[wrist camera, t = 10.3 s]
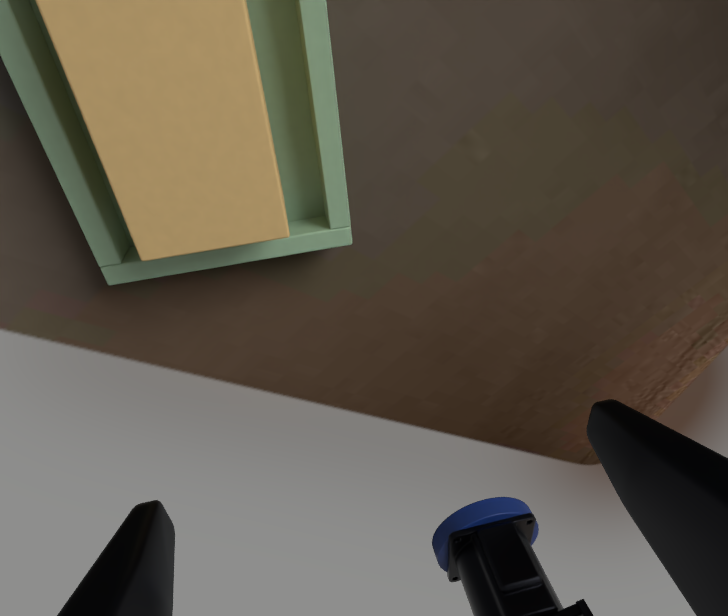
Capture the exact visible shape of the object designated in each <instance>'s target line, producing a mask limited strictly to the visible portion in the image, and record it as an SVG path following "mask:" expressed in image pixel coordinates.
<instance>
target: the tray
mask: <svg viewBox="0 0 728 616" xmlns="http://www.w3.org/2000/svg"><path fill="white" fill-rule="evenodd" d="M246 2H247V7H248V12H249V18H250V23H251V28H252V33H253V39H254V44H255V49H256V54H257V59H258V65H259V70H260V75H261V80H262V86H263V91H264V96H265V101H266V106H267V112H268V117H269V122H270V127H271V132H272V138H273V143H274V148H275V153H276V159H277V164H278V169H279V174H280V179H281V185H282V190H283V195H284V201H285V208H286V214H287V220H288V226H289V232H290V236H289V237H288V238H283V239H277V240H271V241H264V242H258V243H252V244H246V245H240V246H234V247H228V248H222V249H216V250H210V251H204V252H198V253H192V254H185V255H179V256H173V257H167V258H161V259H155V260H149V261H141V259H140V257H139V254H138V252H137V249H136V247H135V244H134V242H133V239H132V237H131V235H130V232H129V230H128V227H127V225H126V222H125V220H124V217H123V215H122V212H121V210H120V207H119V205H118V203H117V200H116V198H115V195H114V193H113V190H112V188H111V185H110V183H109V180H108V178H107V175H106V173H105V171H104V168H103V166H102V163H101V161H100V158H99V156H98V153H97V151H96V148H95V146H94V144H93V141H92V139H91V136H90V134H89V131H88V129H87V126H86V124H85V121H84V119H83V116H82V114H81V112H80V109H79V107H78V104H77V102H76V99H75V97H74V94H73V92H72V89H71V87H70V84H69V82H68V80H67V77H66V75H65V72H64V70H63V67H62V65H61V62H60V60H59V57H58V55H57V52H56V50H55V48H54V45H53V43H52V40H51V38H50V35H49V33H48V30H47V28H46V25H45V23H44V21H43V18H42V16H41V13H40V11H39V8H38V6H37V3H36V1H35V0H0V56H1V58H2V60H3V62H4V65H5V67H6V69H7V71H8V73H9V75H10V77H11V79H12V82H13V84H14V86H15V88H16V90H17V92H18V94H19V97H20V99H21V101H22V103H23V105H24V107H25V109H26V111H27V114H28V116H29V118H30V120H31V122H32V124H33V126H34V129H35V131H36V133H37V135H38V137H39V139H40V141H41V144H42V146H43V148H44V150H45V152H46V154H47V156H48V158H49V161H50V163H51V165H52V167H53V169H54V171H55V173H56V176H57V178H58V180H59V182H60V184H61V186H62V188H63V190H64V193H65V195H66V197H67V199H68V201H69V203H70V205H71V208H72V210H73V212H74V214H75V216H76V218H77V220H78V223H79V225H80V227H81V229H82V231H83V233H84V235H85V237H86V240H87V242H88V244H89V246H90V248H91V250H92V252H93V255H94V257H95V259H96V261H97V263H98V265H99V267H101V271H102V273H103V275H104V277H105V279H106V282H107V284H108V285H115V284H121V283H127V282H133V281H139V280H145V279H151V278H157V277H163V276H169V275H175V274H180V273H186V272H192V271H198V270H204V269H210V268H216V267H222V266H228V265H234V264H240V263H246V262H251V261H257V260H263V259H269V258H275V257H281V256H287V255H293V254H299V253H305V252H311V251H317V250H322V249H328V248H334V247H340V246H346V245H351V244H352V233H351V227H350V225H351V223H350V214H349V205H348V196H347V187H346V178H345V169H344V159H343V150H342V141H341V132H340V123H339V114H338V105H337V96H336V87H335V78H334V69H333V60H332V51H331V41H330V32H329V23H328V14H327V5H326V0H246Z"/></svg>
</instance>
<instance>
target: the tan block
mask: <svg viewBox="0 0 728 616" xmlns="http://www.w3.org/2000/svg"><path fill="white" fill-rule="evenodd" d="M35 1H36V3H37V6H38V8H39V11H40V13H41V16H42V18H43V21H44V23H45V25H46V28H47V30H48V33H49V35H50V38H51V40H52V43H53V45H54V48H55V50H56V52H57V55H58V57H59V60H60V62H61V65H62V67H63V70H64V72H65V75H66V77H67V80H68V82H69V84H70V87H71V89H72V92H73V94H74V97H75V99H76V102H77V104H78V107H79V109H80V112H81V114H82V116H83V119H84V121H85V124H86V126H87V129H88V131H89V134H90V136H91V139H92V141H93V144H94V146H95V148H96V151H97V153H98V156H99V158H100V161H101V163H102V166H103V168H104V171H105V173H106V175H107V178H108V180H109V183H110V185H111V188H112V190H113V193H114V195H115V198H116V200H117V203H118V205H119V207H120V210H121V212H122V215H123V217H124V220H125V222H126V225H127V227H128V230H129V232H130V235H131V237H132V239H133V242H134V244H135V247H136V249H137V252H138V254H139V257H140V259H141V261H149V260H155V259H161V258H167V257H173V256H179V255H185V254H192V253H198V252H204V251H210V250H216V249H222V248H228V247H234V246H240V245H246V244H252V243H258V242H264V241H271V240H277V239H283V238H288V237H289V236H290V232H289V226H288V220H287V214H286V208H285V201H284V195H283V190H282V185H281V179H280V174H279V169H278V164H277V159H276V153H275V148H274V143H273V138H272V132H271V127H270V122H269V117H268V112H267V106H266V101H265V96H264V91H263V86H262V80H261V75H260V70H259V65H258V59H257V54H256V49H255V44H254V39H253V33H252V28H251V23H250V18H249V12H248V7H247V2H246V0H35Z"/></svg>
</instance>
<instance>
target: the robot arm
mask: <svg viewBox="0 0 728 616" xmlns="http://www.w3.org/2000/svg"><path fill="white" fill-rule="evenodd" d="M587 436H588V439H589V441H590V443H591V445H592V447H593V449H594V450H595V452H596V454H597V456H598V458H599V460H600V462H601V464H602V466H603V467H604V469H605V471H606V473H607V475H608V477H609V479H610V481H611V483H612V484H613V486H614V488H615V490H616V492H617V494H618V496H619V497H620V499H621V501H622V503H623V504H624V506H625V507H626V509H627V511H628V512H629V514H630V516H631V517H632V519H633V520H634V522H635V523H636V525H637V526H638V528H639V529H640V531H641V532H642V534H643V535H644V537H645V538H646V540H647V541H648V543H649V544H650V546H651V547H652V549H653V550H654V552H655V553H656V555H657V557H658V558H659V560H660V561H661V563H662V564H663V565H664V567H665V569H666V570H667V571H668V573H669V574H670V576H671V578H672V579H673V581H674V582H675V584H676V585H677V587H678V588H679V590H680V591H681V593H682V594H683V596H684V597H685V599H686V600H687V602H688V603H689V605H690V606H691V608H692V609H693V611H694V612H695V614H696V615H697V616H728V458H726V457H724V456H722V455H720V454H719V453H717V452H715V451H713V450H711V449H709V448H707V447H705V446H703V445H701V444H699V443H697V442H695V441H694V440H692V439H690V438H688V437H686V436H684V435H682V434H680V433H678V432H676V431H674V430H672V429H670V428H669V427H667V426H664V425H663V424H661V423H659V422H657V421H655V420H653V419H651V418H649V417H647V416H646V415H644V414H642V413H640V412H638V411H636V410H634V409H632V408H630V407H628V406H626V405H624V404H622V403H621V402H619V401H616V400H613V399H609V400H604V401H600V402H596V403H595V404H594V405H593V406H592V409H591V413H590V417H589V421H588V425H587ZM535 523H536V519H535V517H534V515H533V514H532V513H526V514H522V515H518V516H514V517H510V518H506V519H502V520H498V521H494V522H490V523H486V524H482V525H478V526H474V527H470V528H466V529H462V530H458V531H455V532H452V533H451V534H450V535H449V537H448V566H447V576H448V579H449V581H450V582H456V581H459V580H461V581H462V584H463V586H464V590H465V592H466V595H467V598H468V600H469V603H470V606H471V609H472V612H473V614H474V616H593V614H592V612H591V611H590V609H589V607H588V606H587V604H586V602H585V601H584V599H582V600H580V601H577V602H576V604H574V605H572V606H570V607H567V608H565V609H563V607H562V605H561V603H560V601H559V599H558V597H557V595H556V593H555V591H554V589H553V587H552V586H551V584H550V582H549V580H548V578H547V576H546V574H545V572H544V570H543V568H542V566H541V564H540V562H539V560H538V558H537V556H536V554H535V552H534V551H533V549H532V547H531V541H532V536H533V532H534V527H535ZM174 547H175V531H174V526H173V523H172V521H171V519H170V518H169V516H168V514H167V512H166V510H165V509H164V507H163V505H162V504H161V502H160V501H158V500H154V501H150V502H145V503H141V504H138V505H136V506H135V507H134V508H133V509H132V511H131V512H130V514H129V515H128V516H127V518H126V519H125V521H124V522H123V523H122V525H121V526H120V528H119V529H118V530H117V532H116V533H115V535H114V536H113V538H112V539H111V540H110V542H109V543H108V545H107V546H106V547H105V549H104V550H103V552H102V553H101V554H100V556H99V558H98V559H97V560H96V562H95V563H94V564H93V566H92V567H91V569H90V570H89V571H88V573H87V574H86V576H85V577H84V578H83V580H82V581H81V583H80V584H79V586H78V587H77V588H76V590H75V591H74V593H73V594H72V595H71V597H70V598H69V600H68V601H67V603H66V604H65V605H64V607H63V608H62V610H61V611H60V613H59V614H58V615H57V616H172V610H173V581H174Z"/></svg>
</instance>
